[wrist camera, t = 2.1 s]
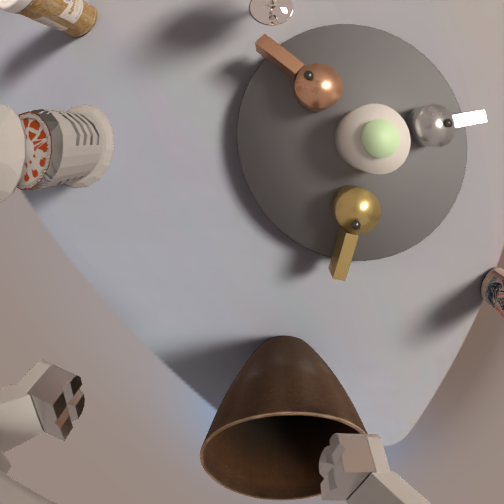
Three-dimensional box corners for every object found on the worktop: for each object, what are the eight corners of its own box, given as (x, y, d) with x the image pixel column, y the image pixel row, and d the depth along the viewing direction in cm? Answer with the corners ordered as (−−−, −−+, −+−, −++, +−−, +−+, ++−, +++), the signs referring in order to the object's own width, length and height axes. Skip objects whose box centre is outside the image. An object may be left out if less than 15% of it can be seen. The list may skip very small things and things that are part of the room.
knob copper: (344, 91, 26) (353, 85, 23) (317, 120, 27) (322, 117, 24) (275, 34, 24) (275, 21, 21) (246, 62, 26) (243, 52, 23)
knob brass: (336, 180, 29) (343, 183, 26) (375, 190, 29) (386, 195, 26) (314, 264, 31) (319, 277, 28) (352, 272, 31) (359, 285, 28)
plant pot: (337, 399, 40) (355, 495, 24) (229, 402, 41) (212, 498, 26) (349, 305, 35) (389, 404, 20) (218, 309, 36) (185, 410, 21)
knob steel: (412, 149, 27) (426, 150, 24) (401, 110, 26) (414, 107, 23) (475, 135, 26) (492, 135, 23) (466, 98, 25) (482, 95, 22)
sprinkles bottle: (104, 19, 26) (35, -20, 13) (75, 44, 27) (0, 17, 14) (90, -1, 25) (26, -41, 12) (63, 23, 26) (-7, -6, 13)
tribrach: (341, -8, 24) (355, -38, 18) (489, 149, 28) (525, 154, 22) (188, 146, 31) (167, 146, 24) (357, 296, 35) (373, 327, 28)
